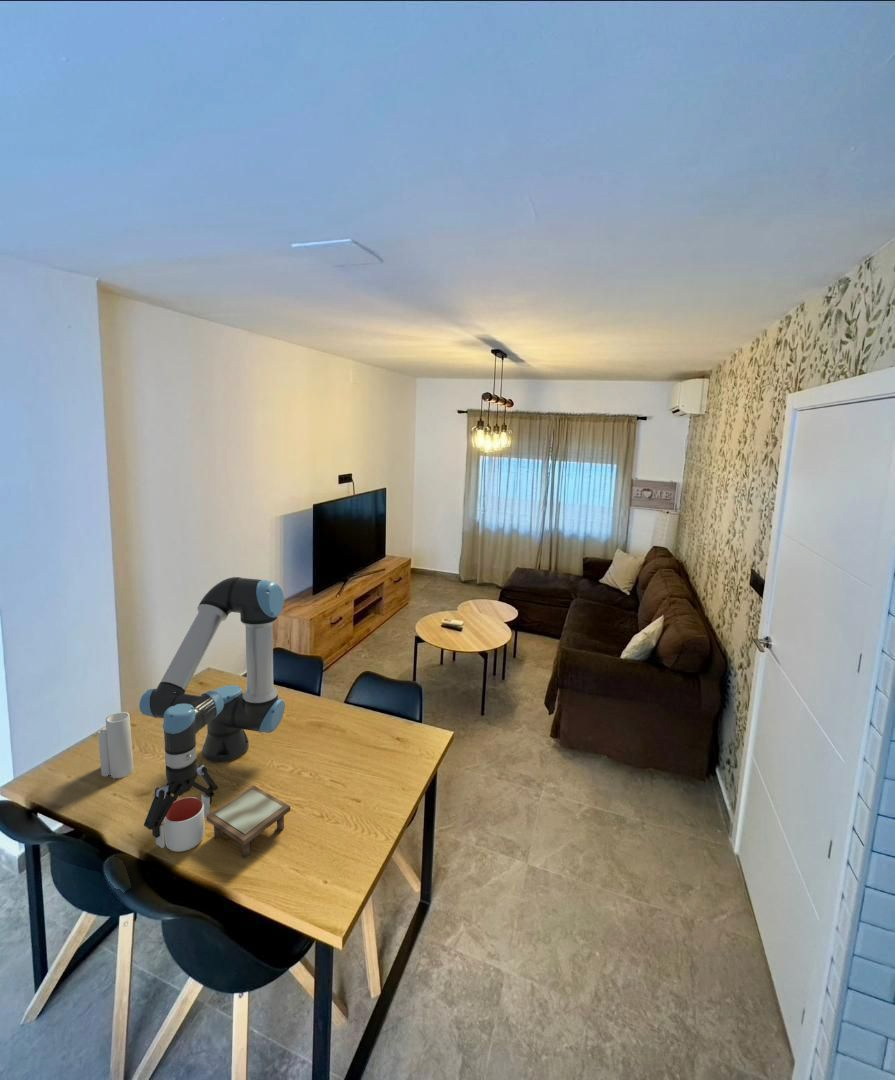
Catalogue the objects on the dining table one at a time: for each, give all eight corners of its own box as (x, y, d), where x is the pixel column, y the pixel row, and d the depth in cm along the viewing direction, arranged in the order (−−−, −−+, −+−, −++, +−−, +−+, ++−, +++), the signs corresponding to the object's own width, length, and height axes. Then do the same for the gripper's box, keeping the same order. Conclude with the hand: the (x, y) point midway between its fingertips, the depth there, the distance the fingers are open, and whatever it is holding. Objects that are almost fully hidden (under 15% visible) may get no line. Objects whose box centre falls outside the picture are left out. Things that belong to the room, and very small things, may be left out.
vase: (138, 768, 177) (134, 714, 173) (119, 781, 170) (114, 725, 166) (113, 760, 180) (108, 707, 176) (93, 772, 173) (88, 717, 169)
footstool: (207, 837, 149) (206, 815, 148) (254, 805, 163) (253, 784, 161) (244, 863, 141) (243, 839, 140) (290, 827, 155) (290, 805, 153)
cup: (174, 827, 152) (172, 797, 150) (210, 826, 153) (209, 796, 151) (158, 854, 143) (156, 822, 141) (197, 853, 143) (195, 822, 141)
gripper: (142, 791, 130) (147, 865, 134) (229, 744, 152) (231, 810, 156) (126, 780, 134) (130, 852, 138) (213, 736, 155) (215, 800, 159)
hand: (184, 830), depth 147 cm, fingers open, 13 cm apart
